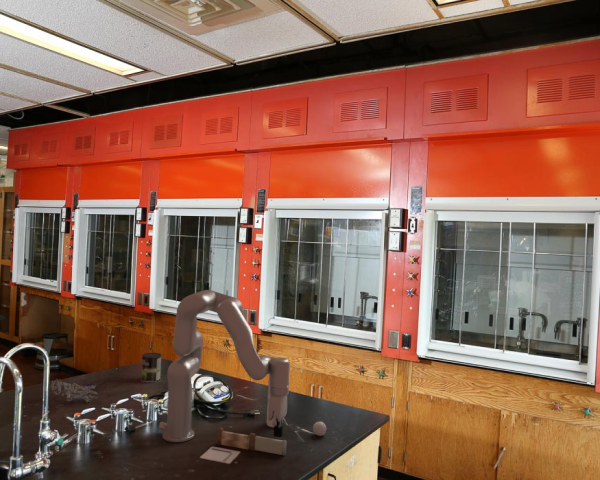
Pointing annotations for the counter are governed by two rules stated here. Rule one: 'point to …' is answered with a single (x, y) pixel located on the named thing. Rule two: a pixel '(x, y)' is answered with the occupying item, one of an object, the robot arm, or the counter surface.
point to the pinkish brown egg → (319, 428)
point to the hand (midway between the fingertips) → (278, 436)
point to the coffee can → (151, 366)
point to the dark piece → (74, 390)
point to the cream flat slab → (270, 445)
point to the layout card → (220, 455)
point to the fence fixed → (236, 439)
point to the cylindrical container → (269, 423)
